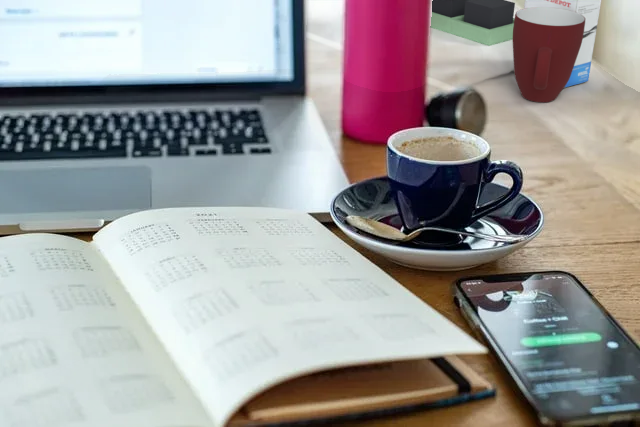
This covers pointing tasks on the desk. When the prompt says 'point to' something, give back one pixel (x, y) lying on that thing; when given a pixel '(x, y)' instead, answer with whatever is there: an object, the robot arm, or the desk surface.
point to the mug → (545, 50)
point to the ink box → (587, 5)
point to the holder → (472, 30)
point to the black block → (449, 7)
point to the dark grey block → (489, 13)
